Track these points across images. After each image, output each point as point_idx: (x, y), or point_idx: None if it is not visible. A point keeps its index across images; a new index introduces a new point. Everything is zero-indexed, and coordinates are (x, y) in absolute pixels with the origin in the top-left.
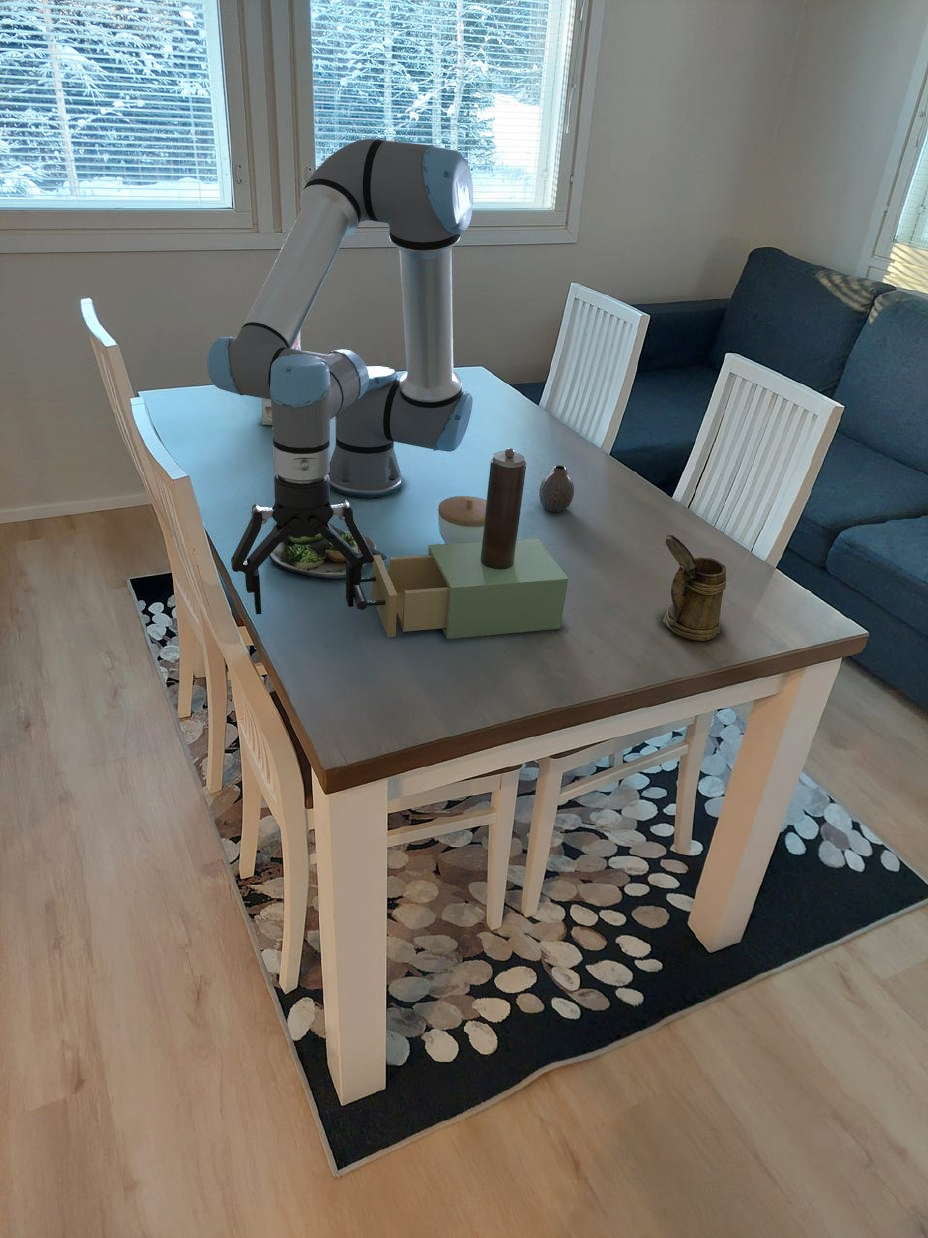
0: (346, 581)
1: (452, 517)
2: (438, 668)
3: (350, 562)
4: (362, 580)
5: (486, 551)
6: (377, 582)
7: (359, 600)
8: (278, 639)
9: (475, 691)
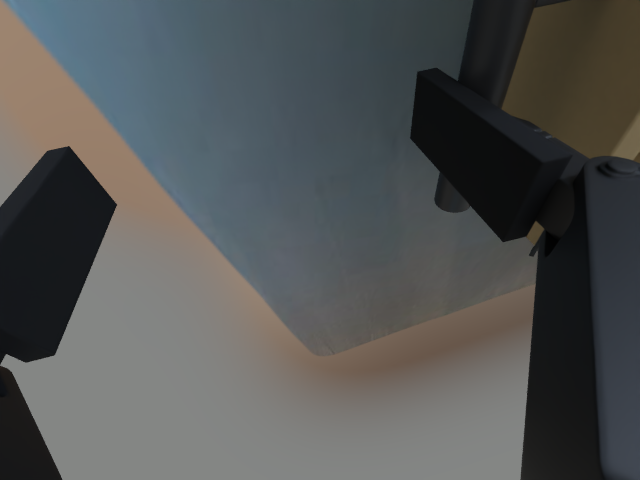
0: (460, 125)
1: None
2: None
3: (538, 265)
4: (545, 3)
5: None
6: (595, 32)
7: (454, 207)
8: (192, 173)
9: (515, 260)
